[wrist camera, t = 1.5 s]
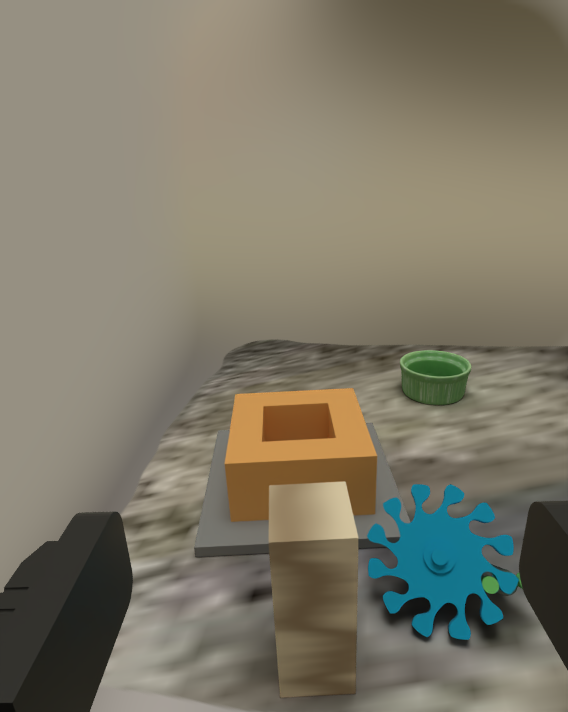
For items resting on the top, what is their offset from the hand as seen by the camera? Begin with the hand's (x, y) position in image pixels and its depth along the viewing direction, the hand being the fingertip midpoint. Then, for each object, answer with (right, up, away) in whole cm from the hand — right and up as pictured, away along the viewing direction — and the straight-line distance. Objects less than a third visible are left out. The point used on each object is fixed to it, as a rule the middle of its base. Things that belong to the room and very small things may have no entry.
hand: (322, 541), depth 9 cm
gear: (+11, -14, +25) cm, 30 cm away
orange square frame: (+1, -9, +37) cm, 38 cm away
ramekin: (+19, -1, +54) cm, 58 cm away
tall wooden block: (+1, -16, +21) cm, 26 cm away
